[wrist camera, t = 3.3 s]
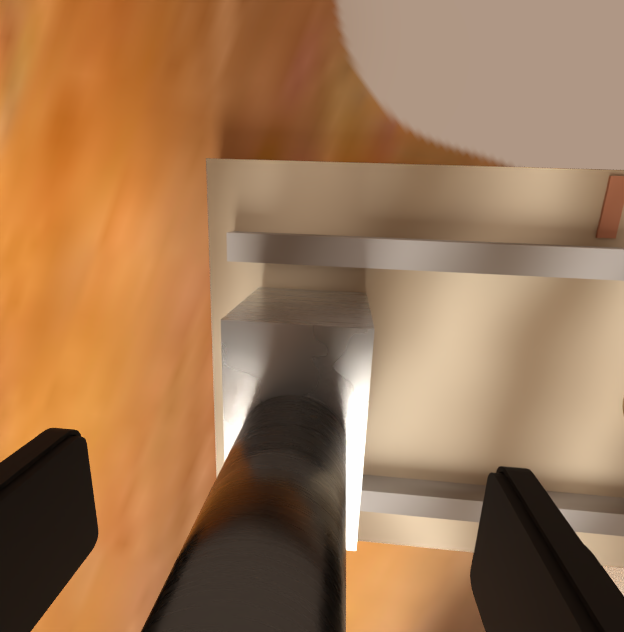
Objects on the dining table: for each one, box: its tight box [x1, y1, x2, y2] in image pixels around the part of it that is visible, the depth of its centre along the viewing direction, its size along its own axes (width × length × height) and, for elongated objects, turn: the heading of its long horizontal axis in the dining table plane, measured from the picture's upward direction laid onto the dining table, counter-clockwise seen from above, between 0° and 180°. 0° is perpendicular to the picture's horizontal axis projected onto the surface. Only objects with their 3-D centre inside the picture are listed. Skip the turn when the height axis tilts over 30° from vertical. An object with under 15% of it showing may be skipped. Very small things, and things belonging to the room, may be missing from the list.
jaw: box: [141, 287, 375, 632], centre depth 10 cm, size 4×7×12 cm, turn 178°
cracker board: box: [206, 158, 624, 568], centre depth 13 cm, size 26×16×6 cm, turn 88°
